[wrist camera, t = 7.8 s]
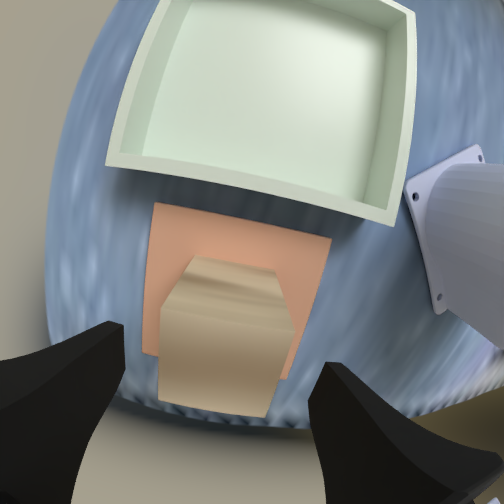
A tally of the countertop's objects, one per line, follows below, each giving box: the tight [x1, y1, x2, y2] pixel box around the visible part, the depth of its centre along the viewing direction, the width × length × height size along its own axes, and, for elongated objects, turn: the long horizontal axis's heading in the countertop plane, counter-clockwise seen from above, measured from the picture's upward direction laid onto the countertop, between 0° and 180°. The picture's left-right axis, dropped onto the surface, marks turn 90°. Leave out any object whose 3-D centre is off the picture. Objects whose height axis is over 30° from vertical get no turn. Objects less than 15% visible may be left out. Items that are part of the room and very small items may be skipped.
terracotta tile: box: [142, 202, 332, 380], centre depth 14 cm, size 9×9×1 cm
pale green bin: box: [105, 0, 417, 227], centre depth 10 cm, size 13×13×3 cm
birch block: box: [158, 255, 295, 418], centre depth 11 cm, size 4×4×6 cm
